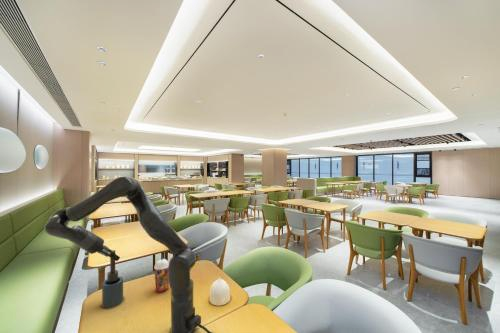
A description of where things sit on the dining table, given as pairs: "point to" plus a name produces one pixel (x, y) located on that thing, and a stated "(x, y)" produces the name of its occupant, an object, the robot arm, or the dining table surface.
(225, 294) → the white rounded dome
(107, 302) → the jar
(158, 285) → the smoothie
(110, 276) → the brush
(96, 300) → the dining table surface
